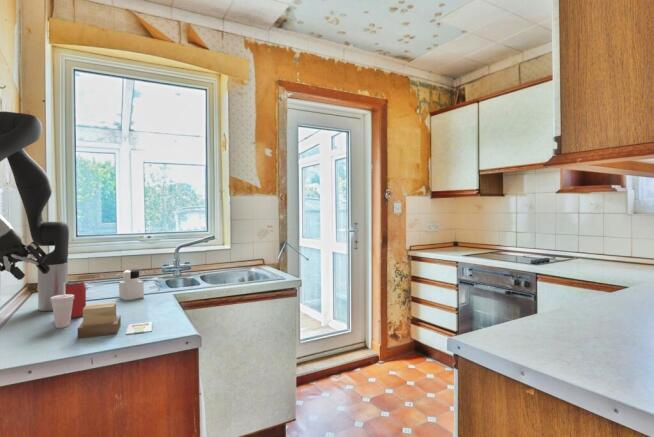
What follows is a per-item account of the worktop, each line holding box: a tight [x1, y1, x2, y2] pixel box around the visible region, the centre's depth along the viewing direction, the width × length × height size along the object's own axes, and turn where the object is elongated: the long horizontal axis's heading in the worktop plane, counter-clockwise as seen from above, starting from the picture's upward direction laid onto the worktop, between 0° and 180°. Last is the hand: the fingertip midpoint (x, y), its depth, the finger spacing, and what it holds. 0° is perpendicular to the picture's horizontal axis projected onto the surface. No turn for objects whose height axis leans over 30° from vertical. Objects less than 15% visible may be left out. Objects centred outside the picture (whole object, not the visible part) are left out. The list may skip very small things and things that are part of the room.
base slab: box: [77, 315, 122, 339], centre depth 113 cm, size 10×10×3 cm
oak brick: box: [82, 301, 117, 326], centre depth 113 cm, size 6×8×5 cm
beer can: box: [65, 280, 87, 319], centre depth 130 cm, size 7×7×12 cm
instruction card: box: [125, 321, 153, 336], centre depth 116 cm, size 10×7×1 cm
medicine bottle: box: [118, 269, 145, 301], centre depth 157 cm, size 7×7×12 cm
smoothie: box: [50, 283, 74, 329], centre depth 118 cm, size 6×6×14 cm
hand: (34, 275), depth 111 cm, fingers open, 8 cm apart
